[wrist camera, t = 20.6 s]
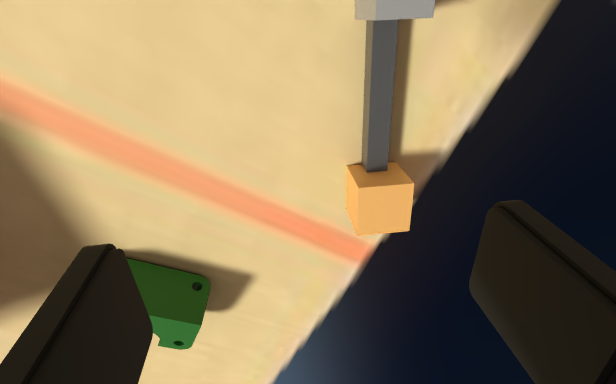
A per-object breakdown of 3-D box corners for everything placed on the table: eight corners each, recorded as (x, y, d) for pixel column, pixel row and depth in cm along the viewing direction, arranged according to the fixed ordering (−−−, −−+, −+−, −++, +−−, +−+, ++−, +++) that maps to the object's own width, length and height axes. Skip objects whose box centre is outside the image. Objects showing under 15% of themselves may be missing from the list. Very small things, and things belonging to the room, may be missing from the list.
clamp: (132, 264, 42) (63, 322, 35) (137, 233, 39) (62, 290, 31) (213, 318, 41) (161, 388, 34) (226, 292, 38) (171, 364, 31)
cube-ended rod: (349, -40, 26) (370, -53, 21) (412, -42, 27) (449, -55, 21) (346, 208, 37) (359, 242, 31) (391, 204, 37) (413, 236, 32)
